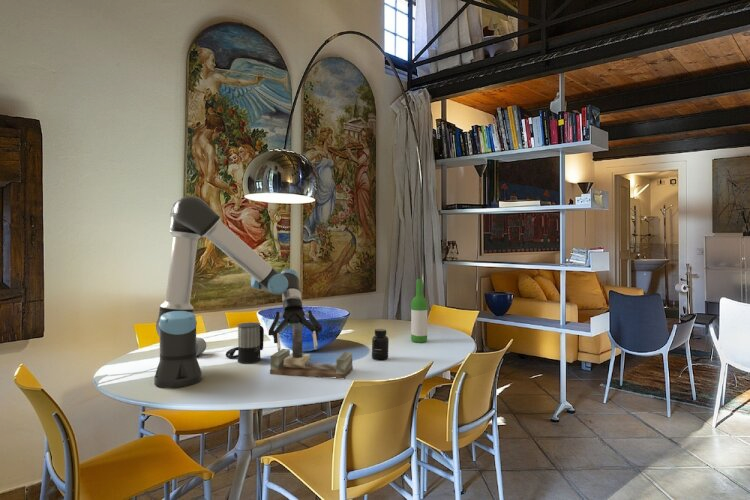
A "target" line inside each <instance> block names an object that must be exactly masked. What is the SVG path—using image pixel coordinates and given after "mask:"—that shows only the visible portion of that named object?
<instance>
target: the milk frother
mask: <svg viewBox="0 0 750 500" xmlns="http://www.w3.org/2000/svg"><path fill="white" fill-rule="evenodd" d="M236 326H237V335H238V336H237V337H238V338H237V344H238V345H237V346H236V347H233V348H231V349H229V350H227V351H226V352H225V357H226V358H228V359H237V363H240V364H254V363H259V362H260V361H261V360H262V358H261V351H263V350H264V341H265V340H264V339H265V330H264V327H263V325H261V323H259V322H243V323H238V324H237V325H236ZM236 351H237V353H238V354H236ZM234 354H236V355H234Z"/></svg>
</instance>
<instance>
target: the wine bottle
mask: <svg viewBox="0 0 750 500" xmlns="http://www.w3.org/2000/svg"><path fill="white" fill-rule="evenodd" d="M415 282H416V283H415V285H416V290H415V291H416V292H415V293H416V294H415V296H414V297H413V298H412V300H411V305H410V306H411V307H410V308H411V309H410V311H411V313H410V317H411V318H410V339H411V342H413V343H415V344H417V343H418V344H419V343H420V344H421V343H426V342H427V341H428V301H427V299H426V298H425V296H424V294H423V286H424V285H423V279H421V278H418V279H416V280H415Z"/></svg>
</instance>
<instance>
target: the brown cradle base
mask: <svg viewBox="0 0 750 500" xmlns="http://www.w3.org/2000/svg"><path fill="white" fill-rule="evenodd" d="M290 355H291V349H289V348H288V349H287V348H282V349H280V352H278V351H277V352H275V353H273V354H271V355H270V369H269V374H270V375H279V374H281V376H294V375H298V376H297V377H308V376H319V377H318V378H323V377H336V378H335V379H338V378H344V379H346V377H347V376H348V375H349V374H350V373H351V372H352V371H353V370H354V367H353V352H343V353H342V354H341V355H340V356H339V357H338V358H336V363H335V364H333V363H322V362H321V363H317V362H309V363H305V368H292V367H286V365H284V359H285V358H286V357H288V356H290ZM282 374H283V375H282Z"/></svg>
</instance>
